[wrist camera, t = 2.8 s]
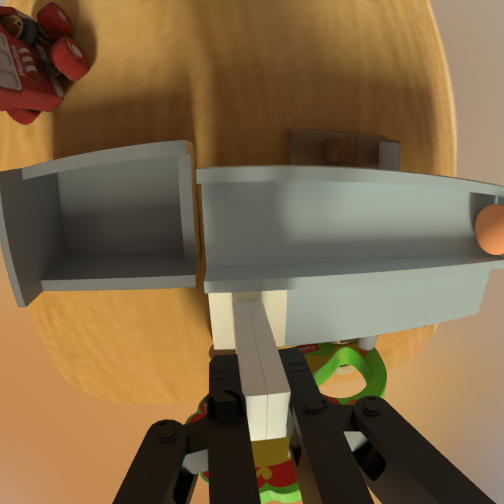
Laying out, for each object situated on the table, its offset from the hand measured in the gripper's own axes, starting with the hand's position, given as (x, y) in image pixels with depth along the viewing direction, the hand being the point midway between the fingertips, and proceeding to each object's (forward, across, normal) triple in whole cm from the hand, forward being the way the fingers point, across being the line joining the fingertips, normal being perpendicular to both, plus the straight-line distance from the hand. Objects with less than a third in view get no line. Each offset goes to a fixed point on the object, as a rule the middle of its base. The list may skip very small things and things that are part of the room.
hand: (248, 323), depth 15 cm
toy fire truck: (+9, -16, +19) cm, 26 cm away
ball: (-2, +16, +5) cm, 16 cm away
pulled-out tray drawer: (+9, -9, +5) cm, 13 cm away
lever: (+2, +8, +3) cm, 9 cm away
